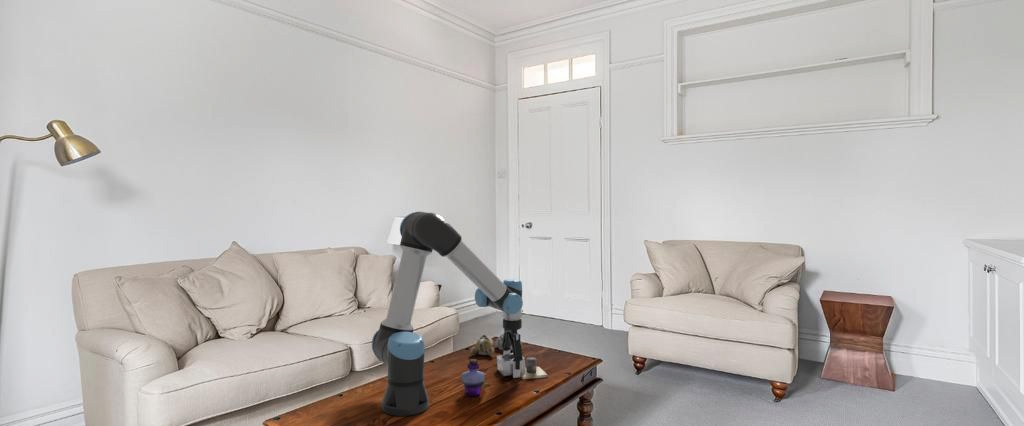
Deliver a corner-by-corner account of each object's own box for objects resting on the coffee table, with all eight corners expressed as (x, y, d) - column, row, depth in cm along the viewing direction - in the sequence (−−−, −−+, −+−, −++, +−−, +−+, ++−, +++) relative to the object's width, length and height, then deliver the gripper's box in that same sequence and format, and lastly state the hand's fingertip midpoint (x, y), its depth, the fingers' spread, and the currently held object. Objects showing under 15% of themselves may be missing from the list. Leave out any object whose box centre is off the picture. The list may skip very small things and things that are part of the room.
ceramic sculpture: (498, 330, 240) (492, 341, 226) (498, 349, 241) (492, 361, 226) (475, 329, 242) (468, 340, 227) (475, 348, 243) (468, 360, 228)
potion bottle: (489, 396, 184) (489, 362, 184) (465, 400, 180) (466, 365, 180) (479, 388, 192) (479, 355, 191) (457, 391, 188) (457, 358, 187)
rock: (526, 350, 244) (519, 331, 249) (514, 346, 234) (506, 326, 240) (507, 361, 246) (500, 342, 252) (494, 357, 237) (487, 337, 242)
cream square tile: (523, 379, 202) (523, 363, 202) (515, 371, 211) (515, 356, 211) (547, 377, 205) (547, 361, 205) (538, 369, 214) (539, 354, 214)
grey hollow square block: (503, 376, 204) (502, 362, 204) (497, 369, 213) (496, 356, 213) (525, 371, 207) (524, 357, 207) (519, 365, 215) (517, 352, 215)
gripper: (531, 325, 199) (530, 381, 199) (512, 311, 222) (511, 361, 223) (512, 326, 196) (511, 383, 197) (494, 312, 220) (494, 363, 221)
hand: (511, 371), depth 210 cm, fingers open, 13 cm apart
